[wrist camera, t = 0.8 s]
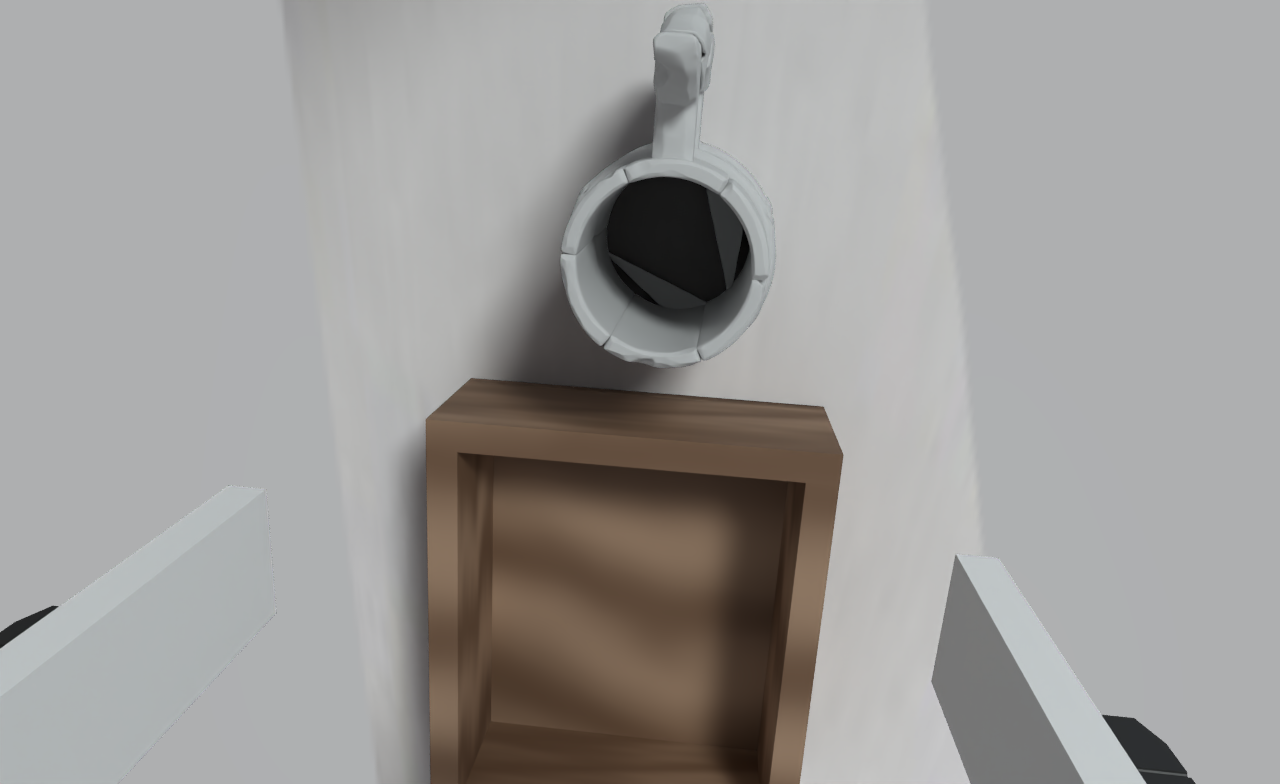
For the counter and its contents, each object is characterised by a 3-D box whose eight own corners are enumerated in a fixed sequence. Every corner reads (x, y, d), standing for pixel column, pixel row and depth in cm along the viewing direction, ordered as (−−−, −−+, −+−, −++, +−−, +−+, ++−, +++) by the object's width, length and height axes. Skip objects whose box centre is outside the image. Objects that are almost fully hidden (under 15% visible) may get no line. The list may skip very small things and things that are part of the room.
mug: (582, 321, 36) (518, 400, 24) (596, 22, 33) (529, -49, 21) (761, 336, 35) (781, 423, 24) (794, 34, 32) (836, -33, 21)
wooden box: (471, 378, 37) (425, 419, 31) (823, 406, 36) (843, 454, 30) (470, 731, 42) (431, 822, 36) (778, 765, 41) (788, 865, 35)
